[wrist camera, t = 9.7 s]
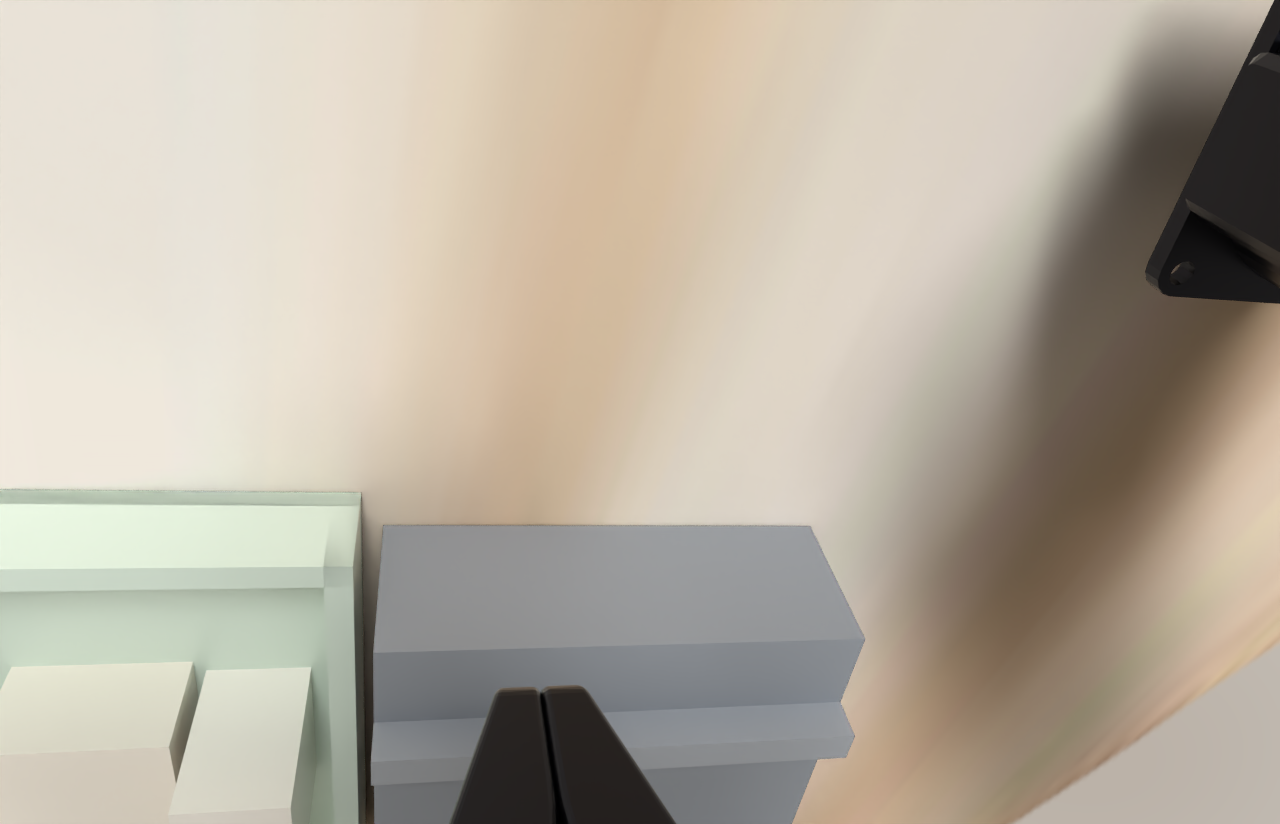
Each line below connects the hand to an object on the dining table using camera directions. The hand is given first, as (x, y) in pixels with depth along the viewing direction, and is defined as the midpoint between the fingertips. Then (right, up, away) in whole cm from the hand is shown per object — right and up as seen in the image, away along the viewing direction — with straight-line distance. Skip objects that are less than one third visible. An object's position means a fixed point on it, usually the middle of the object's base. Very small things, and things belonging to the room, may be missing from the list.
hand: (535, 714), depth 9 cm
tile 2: (-7, -7, +15) cm, 18 cm away
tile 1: (-12, -6, +13) cm, 19 cm away
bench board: (-1, -5, +18) cm, 19 cm away
